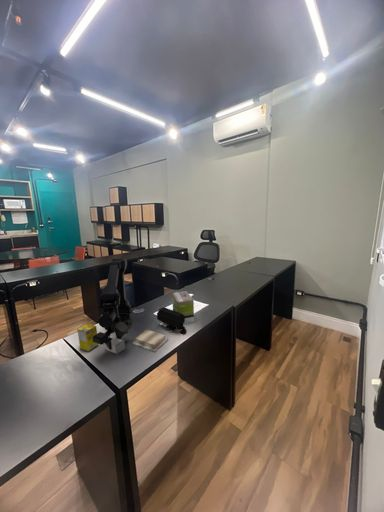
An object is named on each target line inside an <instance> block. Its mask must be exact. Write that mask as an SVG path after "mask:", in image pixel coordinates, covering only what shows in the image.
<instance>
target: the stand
mask: <svg viewBox="0 0 384 512" xmlns="http://www.w3.org/2000/svg"><path fill="white" fill-rule="evenodd" d="M168 341H169V338H168V337H166V335H165V334H162V333H159V332H156V331H154V330H153V331H152V330H150V329H145V330H144V331H143V332H142V333H140V334H139V335H137V336H136V337H135V338H134V341H133V342H132V343H131V344H132V345H133V346H137V347H139V348H142V349H145V350H147V351H150V352H153V353H157V351H158V350H159V349H160V348H162V346H164V345H165V344H166V343H167V342H168Z"/></svg>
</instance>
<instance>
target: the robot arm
mask: <svg viewBox="0 0 384 512" xmlns="http://www.w3.org/2000/svg"><path fill="white" fill-rule="evenodd" d="M108 263H109V265H108V267H109V271H108V276H107V281H106V282H107V283H106V285H105V286H104V287H103V289H102V292H101V294H100V296H99V304H98V305H99V307H98V310H102V313H101V315H100V317H99V319H98V321H97V323H98V325H99V326H100V327H101V328H103V329H104V330H105V332H102V331H99V332H97V334H96V335H94V336H93V338H92V339H93V342H95V343H98V345H105V344H106V345H107V347H108V348H109V349H110V350H111V349H112V346H111V340H112V339H113V338H111V335H112V334H115V338H118V339H121V340H123V339H122V338H123V337H124V336H126V335H127V334H128V333H129V330H130V329H132V322H133V320H131V314H133V310H132V307H131V304H130V301H129V299H128V298H127V296H126V287H125V286H126V285H125V284H126V283H125V271H126V270H127V267H128V260H127V259H125V257H117V258H116V257H115V258H112V260H109V261H108ZM104 343H105V344H104Z"/></svg>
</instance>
